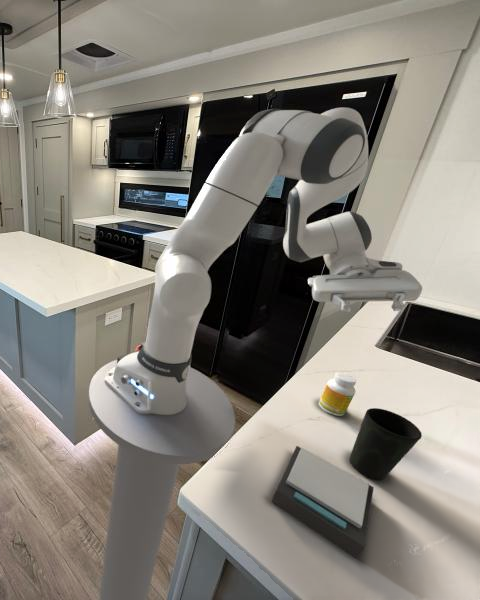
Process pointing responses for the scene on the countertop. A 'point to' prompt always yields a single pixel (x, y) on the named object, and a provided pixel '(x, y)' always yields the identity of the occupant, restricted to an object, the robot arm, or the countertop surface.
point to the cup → (382, 443)
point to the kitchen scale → (326, 500)
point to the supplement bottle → (338, 394)
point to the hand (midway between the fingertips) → (372, 309)
